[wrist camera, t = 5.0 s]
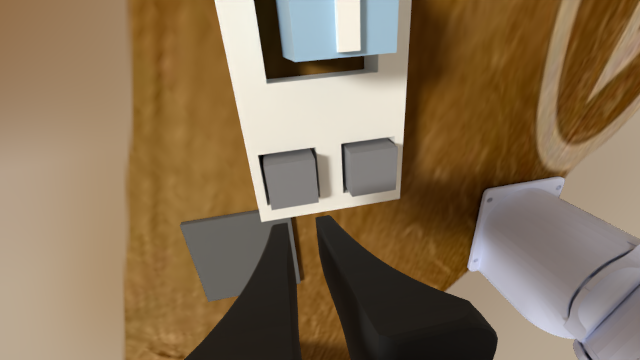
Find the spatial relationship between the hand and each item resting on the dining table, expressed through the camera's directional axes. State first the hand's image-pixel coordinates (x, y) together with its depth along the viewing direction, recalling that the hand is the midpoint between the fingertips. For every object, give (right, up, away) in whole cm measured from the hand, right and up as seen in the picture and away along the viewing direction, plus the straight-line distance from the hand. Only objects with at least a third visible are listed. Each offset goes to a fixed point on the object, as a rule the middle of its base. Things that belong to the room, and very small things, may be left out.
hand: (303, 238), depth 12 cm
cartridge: (0, +12, +4) cm, 13 cm away
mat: (-5, -4, +11) cm, 12 cm away
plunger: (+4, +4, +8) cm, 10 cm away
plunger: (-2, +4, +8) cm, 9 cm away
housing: (0, +9, +6) cm, 11 cm away
